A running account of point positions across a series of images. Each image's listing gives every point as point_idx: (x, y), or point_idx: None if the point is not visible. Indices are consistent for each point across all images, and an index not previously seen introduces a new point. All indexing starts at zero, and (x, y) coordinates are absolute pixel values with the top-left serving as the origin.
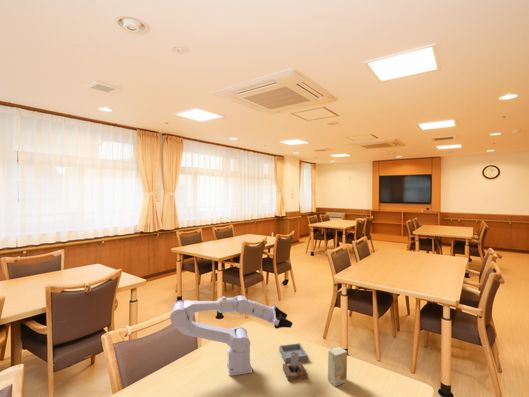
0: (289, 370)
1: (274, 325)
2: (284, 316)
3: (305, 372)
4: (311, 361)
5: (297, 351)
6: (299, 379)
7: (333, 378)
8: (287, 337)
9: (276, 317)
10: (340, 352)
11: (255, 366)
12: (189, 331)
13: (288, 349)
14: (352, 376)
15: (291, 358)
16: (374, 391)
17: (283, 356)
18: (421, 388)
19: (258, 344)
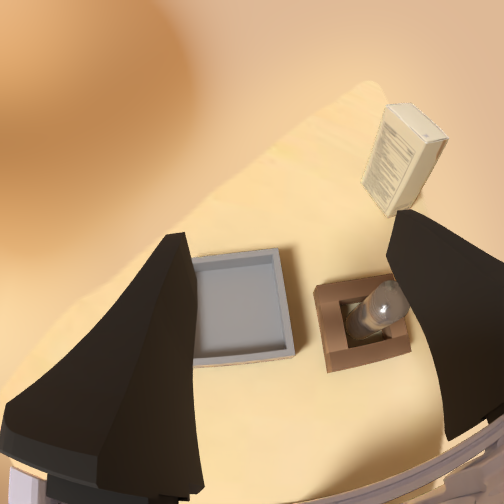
0: (377, 344)
1: (456, 436)
2: (188, 280)
3: (387, 279)
4: (281, 244)
5: (208, 285)
6: None
7: (414, 197)
8: (90, 304)
9: (192, 406)
10: (425, 118)
11: (296, 486)
12: None
13: None
14: (357, 155)
15: (392, 322)
16: None
17: (258, 360)
18: (370, 82)
19: None
